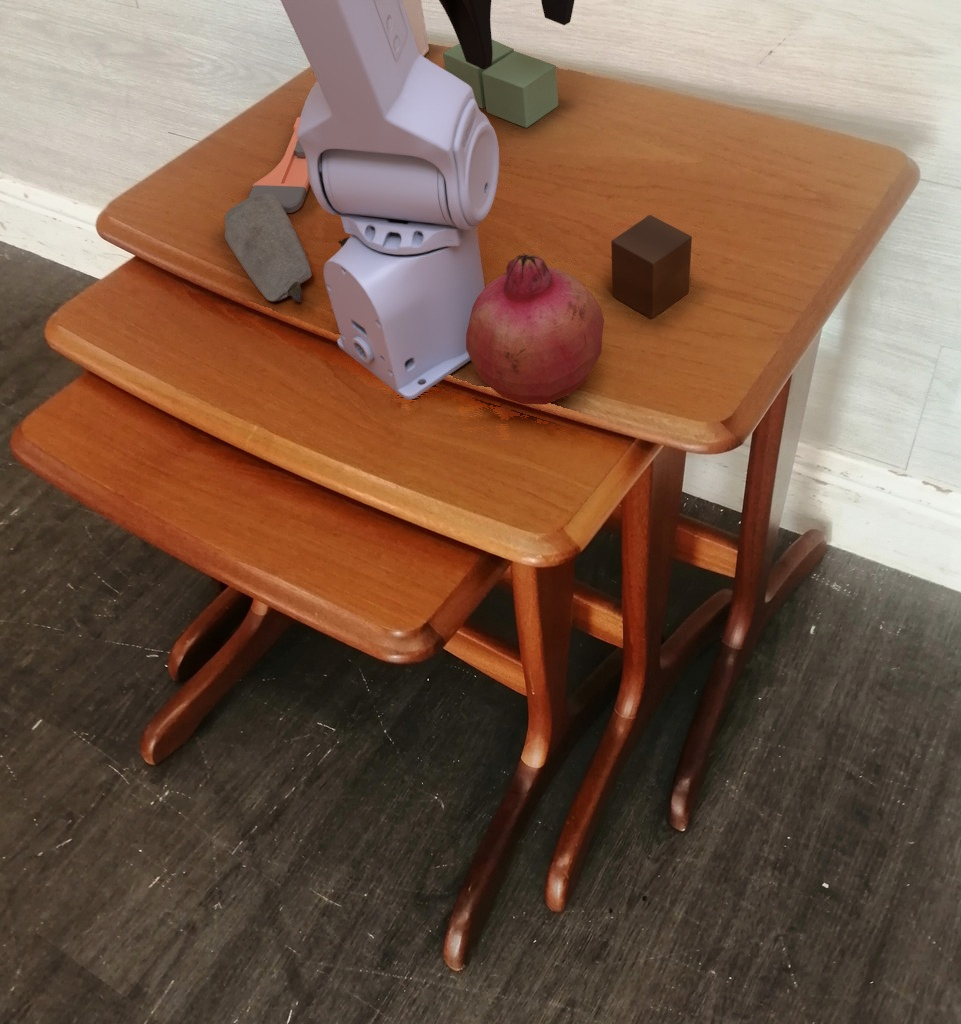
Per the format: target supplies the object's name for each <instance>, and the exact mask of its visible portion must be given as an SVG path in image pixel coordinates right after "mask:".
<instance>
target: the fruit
mask: <svg viewBox="0 0 961 1024" xmlns="http://www.w3.org/2000/svg"><path fill="white" fill-rule="evenodd" d="M505 271H506V273H504V274H502V275H500V276H499V277H497V278H495V279H494V280H492V281H490V282H489V283H487V284H486V285H485V288H484V290H483V291H482V292H481V293H480V295H479V296H478V297H477V299H476V301H475V303H474V305H473V307H472V311H471V316H470V320H469V325H468V329H467V334H466V350H467V352H468V354H469V357H470V359H471V360H470V361H471V365H472V366H473V368H474V370H475V372H476V374H477V375H478V377H479V379H480V380H482V381H483V382H484V383H485V384H486V385H487V386H489V388H491V389H492V390H493V391H495V393H497V394H498V395H499V396H500V397H502V398H503V399H506V400H509V401H512V402H515V403H519V404H521V405H548V404H550V403H554V402H555V401H557V400H560V399H562V398H564V397H566V396H568V395H571V394H572V393H573V392H574V391H576V390H577V389H578V388H579V387H580V386H581V385H582V384H583V383H584V382H586V381H587V379H588V377H589V376H590V374H591V373H592V370H593V369H594V368H595V365H596V363H597V361H598V359H599V358H600V356H601V354H602V348H603V347H602V346H603V333H604V325H605V318H604V314H603V310H602V307H601V304H600V303H599V302H598V300H597V299H596V297H595V296H594V294H593V293H592V292H591V291H590V290H589V289H588V288H587V287H586V286H585V285H584V283H582V282H581V281H580V280H579V279H578V278H577V277H576V276H574V275H572V274H570V273H568V272H565V271H564V270H561V269H558V268H557V267H553V266H548V265H547V264H546V262H545V260H544V259H543V258H542V257H541V256H539V255H536V254H530V253H529V254H526V253H523V254H519V255H517V256H516V257H514V259H512V260H509V261H508V263H507V265H506V268H505Z"/></svg>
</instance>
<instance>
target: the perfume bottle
mask: <svg viewBox="0 0 961 1024" xmlns="http://www.w3.org/2000/svg"><path fill="white" fill-rule="evenodd" d="M402 1H403V5H404V8H405V11H406V14H407V17H408V20H409V23H410V26H411V29H412V32H413V35H414V38H415V41H416V44H417V47H418V50H419V53H420V54H421V55H422V56H423V57H425V56H426V55H427V53H428V52H429V50H430V46H429V41H428V33H427V28H426V22H425V16H424V15H425V14H424V9H423V4H422V0H402Z"/></svg>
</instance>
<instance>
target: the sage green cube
mask: <svg viewBox="0 0 961 1024" xmlns="http://www.w3.org/2000/svg"><path fill="white" fill-rule="evenodd" d="M482 79H483V87H484V96H485V104H486V107H485V111H486V113H487V114H489V115H491V116H495V117H497V118H500V119H501V120H505V121H507V122H510V123H512V124H515V125H517V126H519V127H522V128H525V129H527V128H529V127H530V126H532V125H533V124H534V123H536V122H538V121H539V120H540V119H542V118H543V117H545V116H546V115H547V114H549V113H550V112H552V111H553V110H555V109H556V108H557V107H559V97H558V96H559V95H558V75H557V65H556V64H553V63H550V62H547V61H545V60H543V59H540V58H536V57H533V56H530V55H526V54H525V53H521V52H519V51H516V50H514V52H512V53H511V54H509V55H508V56H506V57H505V58H503V59H502V60H500V61H499V62H497V63H496V64H494V65H492V66H491V67H489V68H488V69H486V70H485V71H483V72H482Z"/></svg>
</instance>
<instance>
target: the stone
mask: <svg viewBox="0 0 961 1024" xmlns="http://www.w3.org/2000/svg"><path fill="white" fill-rule="evenodd" d="M224 226H225V227H224V228H225V229H224V240H225V242H226V244H227V245H228V247H229V248H230V250H231V252H232V253H233V255H234V256H235V258H236V259H237V261H238V263H239V264H240V266H241V267H242V268H243V270H244V271H245V273H246V275H247V276H248V277H249V279H250V280H251V282H252V283H253V285H254V286H255V287H256V289H258V291H259V292H260V293H261V295H262V296H263V297H264V298H265V299H266V300H267V301H269V302H273V303H274V302H281V301H283V300H284V299H287V298H288V297H290V296H289V295H288V294H289V293H288V292H287V291H288V290H289V288H290V287H291V286H292V284H294V283H295V282H298V283H299V285H300V286H301V285H302V284H303V283H305V282H306V281H308V280H309V279H310V278H311V277H312V276H313V272H312V269H311V264H310V261H309V259H308V257H307V254H306V252H305V250H304V247H303V244H302V242H301V240H300V238H299V236H298V234H297V232H296V230H295V228H294V226H293V224H292V221H291V220H290V218H289V216H288V213H286V212H285V210H284V208H283V206H282V204H281V203H280V201H279V200H278V198H277V197H275V196H274V195H271V194H261V195H256V196H254V197H251V198H248V197H247V198H246V199H244V200H243V201H240V202H239V203H237V204H235V205H234V206H232V207H231V208H230V209H228V210H227V212H226V213H225V214H224Z"/></svg>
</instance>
